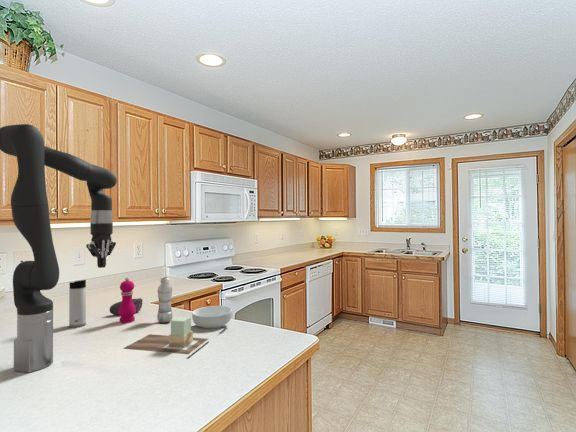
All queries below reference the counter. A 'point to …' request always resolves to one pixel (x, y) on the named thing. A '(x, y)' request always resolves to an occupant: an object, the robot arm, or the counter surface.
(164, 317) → the plastic bottle
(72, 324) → the travel mug
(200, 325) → the cereal bowl
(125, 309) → the pepper mill
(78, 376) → the counter surface
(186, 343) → the maple block
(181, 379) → the counter surface
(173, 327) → the sage block
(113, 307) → the perforated stone tool
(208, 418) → the counter surface
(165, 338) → the brown flat wooden board
